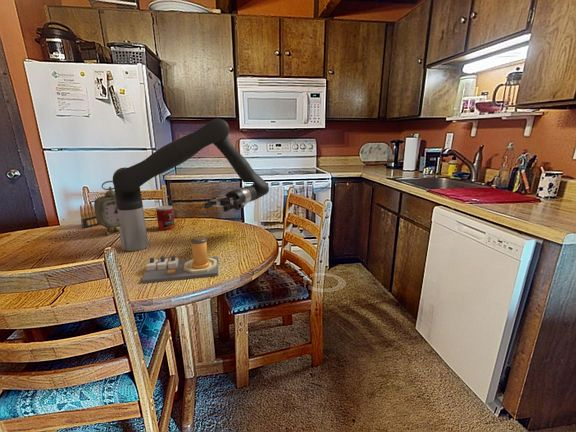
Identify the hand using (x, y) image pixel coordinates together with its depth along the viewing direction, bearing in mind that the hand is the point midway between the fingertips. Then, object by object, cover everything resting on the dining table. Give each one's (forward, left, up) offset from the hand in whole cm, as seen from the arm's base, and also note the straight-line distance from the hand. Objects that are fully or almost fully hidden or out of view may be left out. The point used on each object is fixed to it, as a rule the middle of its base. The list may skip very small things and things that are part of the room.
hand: (214, 207), depth 110 cm
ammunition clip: (-64, +56, -20) cm, 87 cm away
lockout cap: (-6, -9, -19) cm, 22 cm away
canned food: (-26, +43, -20) cm, 54 cm away
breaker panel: (-12, -9, -20) cm, 25 cm away
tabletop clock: (-49, +43, -20) cm, 68 cm away
